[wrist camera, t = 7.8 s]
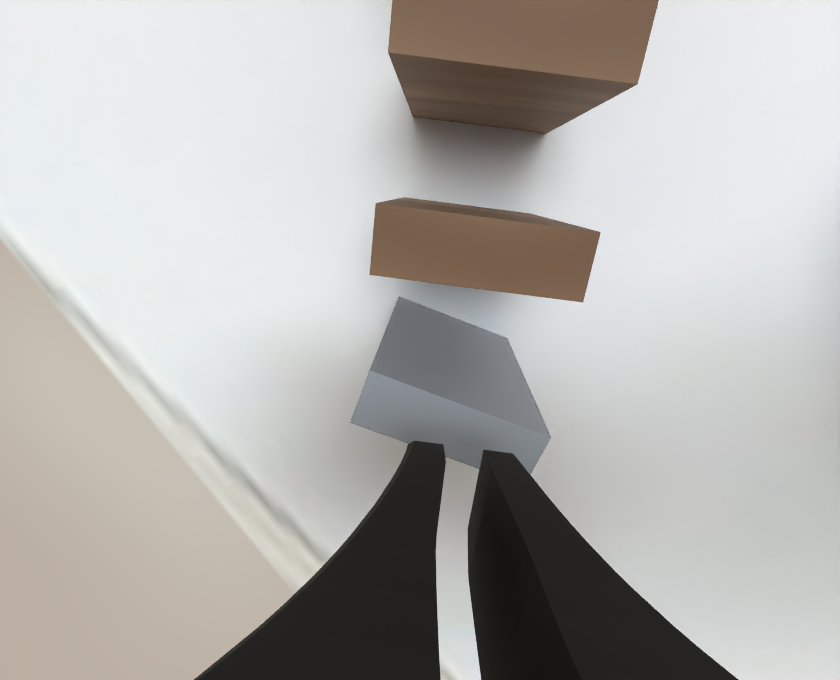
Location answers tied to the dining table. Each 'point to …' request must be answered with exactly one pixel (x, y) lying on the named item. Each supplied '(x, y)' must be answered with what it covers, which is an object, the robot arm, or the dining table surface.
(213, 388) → the dining table surface
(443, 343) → the domino
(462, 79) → the domino
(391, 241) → the domino
